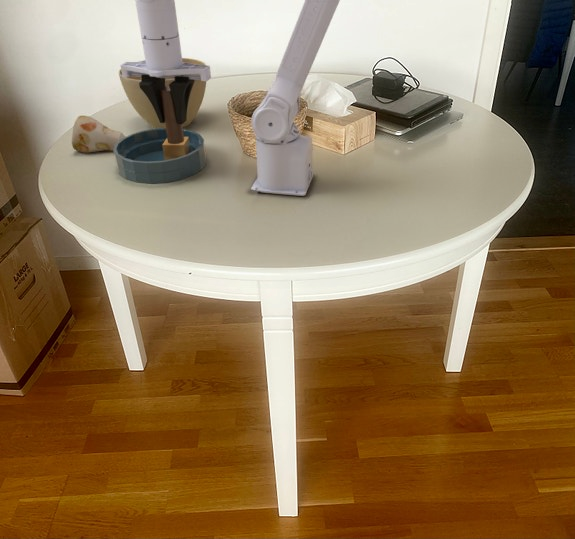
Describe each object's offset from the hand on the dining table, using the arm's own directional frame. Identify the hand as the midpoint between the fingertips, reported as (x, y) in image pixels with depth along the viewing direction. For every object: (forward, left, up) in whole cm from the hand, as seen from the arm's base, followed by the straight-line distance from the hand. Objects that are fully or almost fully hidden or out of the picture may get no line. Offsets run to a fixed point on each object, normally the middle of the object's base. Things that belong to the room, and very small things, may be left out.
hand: (173, 121), depth 89 cm
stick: (0, 0, -3) cm, 3 cm away
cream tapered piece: (+20, -9, -11) cm, 24 cm away
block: (+3, -5, -10) cm, 12 cm away
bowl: (+5, -4, -10) cm, 12 cm away
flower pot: (+12, -25, -11) cm, 29 cm away
